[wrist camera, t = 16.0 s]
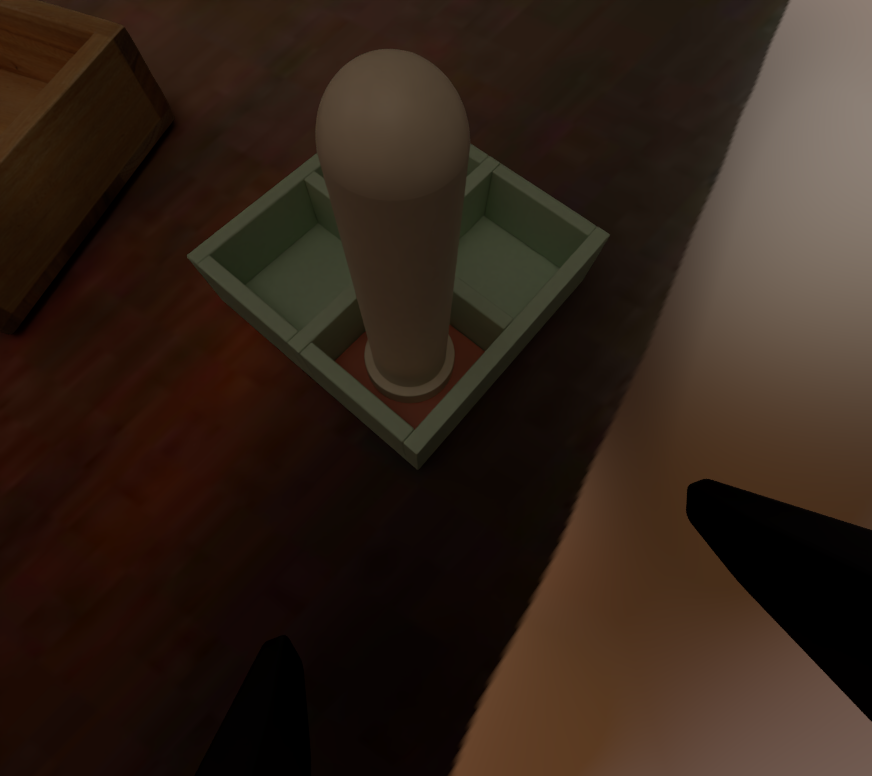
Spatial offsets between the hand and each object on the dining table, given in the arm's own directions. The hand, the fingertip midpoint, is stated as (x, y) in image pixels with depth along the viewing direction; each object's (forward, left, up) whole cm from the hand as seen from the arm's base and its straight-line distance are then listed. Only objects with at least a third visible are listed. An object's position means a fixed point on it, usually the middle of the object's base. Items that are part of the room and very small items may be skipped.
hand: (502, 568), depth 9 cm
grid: (+10, -8, -10) cm, 16 cm away
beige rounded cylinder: (+7, -5, -9) cm, 13 cm away
